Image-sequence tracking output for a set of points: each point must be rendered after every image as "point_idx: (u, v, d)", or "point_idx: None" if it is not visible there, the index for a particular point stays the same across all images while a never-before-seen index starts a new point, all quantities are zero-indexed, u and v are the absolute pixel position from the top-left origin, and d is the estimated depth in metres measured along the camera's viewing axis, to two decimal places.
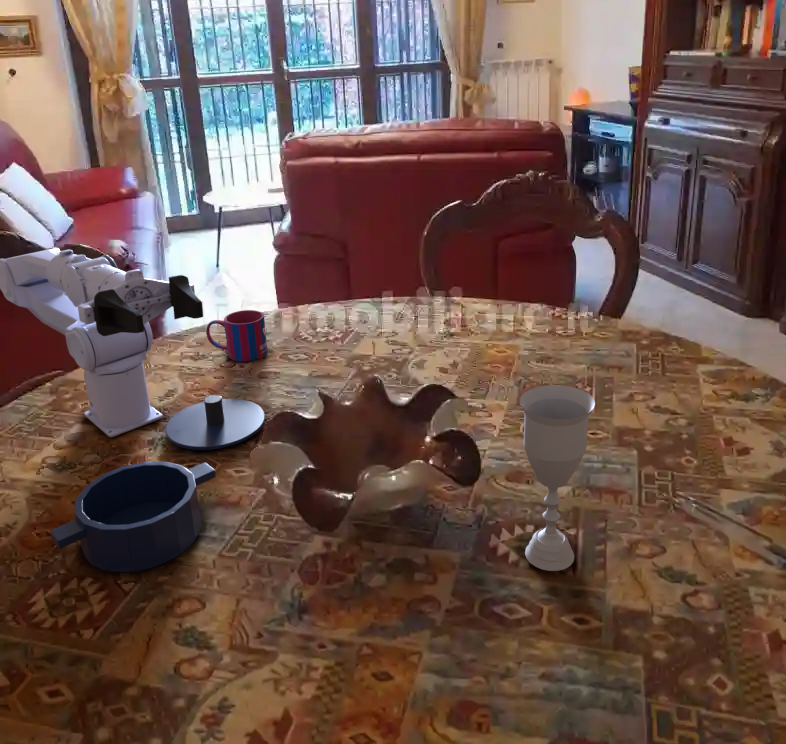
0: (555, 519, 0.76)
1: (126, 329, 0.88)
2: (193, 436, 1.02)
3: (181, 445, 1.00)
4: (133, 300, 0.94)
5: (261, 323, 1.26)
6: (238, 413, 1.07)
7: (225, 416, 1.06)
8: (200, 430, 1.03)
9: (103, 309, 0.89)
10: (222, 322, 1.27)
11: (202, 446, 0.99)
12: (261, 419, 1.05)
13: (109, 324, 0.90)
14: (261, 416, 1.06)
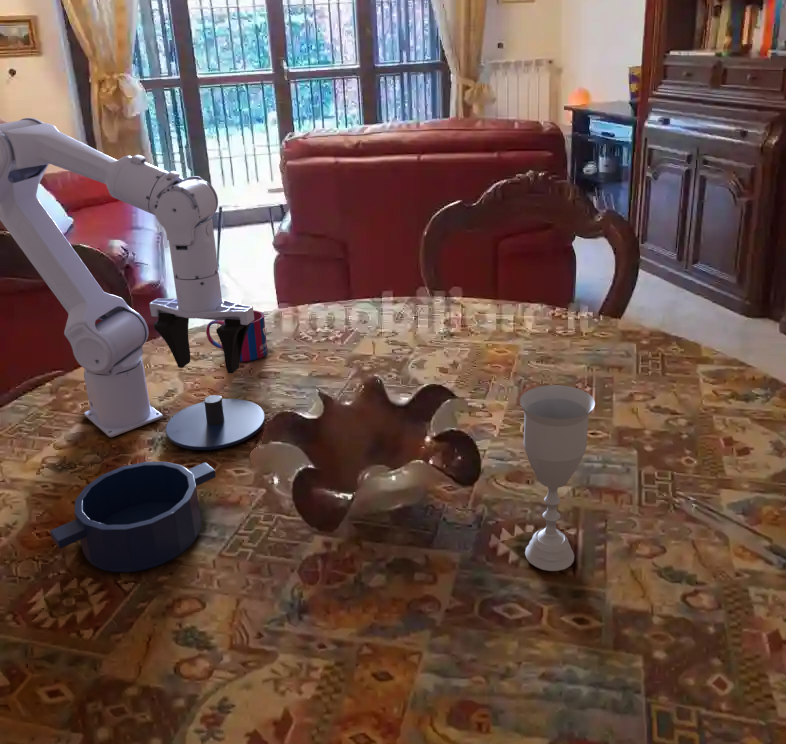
0: (555, 519, 0.76)
1: (231, 357, 0.99)
2: (193, 436, 1.02)
3: (181, 445, 1.00)
4: None
5: (261, 323, 1.26)
6: (238, 413, 1.07)
7: (225, 416, 1.06)
8: (200, 430, 1.03)
9: None
10: (222, 322, 1.27)
11: (202, 446, 0.99)
12: (261, 419, 1.05)
13: None
14: (261, 416, 1.06)
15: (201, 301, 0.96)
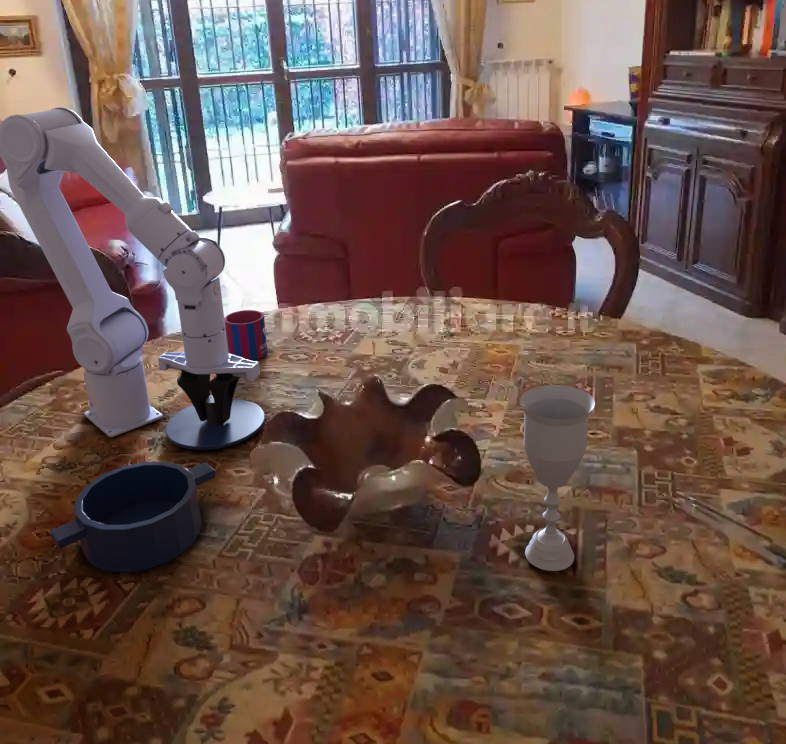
0: (555, 519, 0.76)
1: (222, 408, 1.03)
2: (193, 436, 1.02)
3: (181, 445, 1.00)
4: None
5: (261, 323, 1.26)
6: (237, 413, 1.07)
7: None
8: (200, 430, 1.03)
9: None
10: None
11: (202, 446, 0.99)
12: (261, 419, 1.05)
13: None
14: (261, 416, 1.06)
15: (208, 358, 0.99)
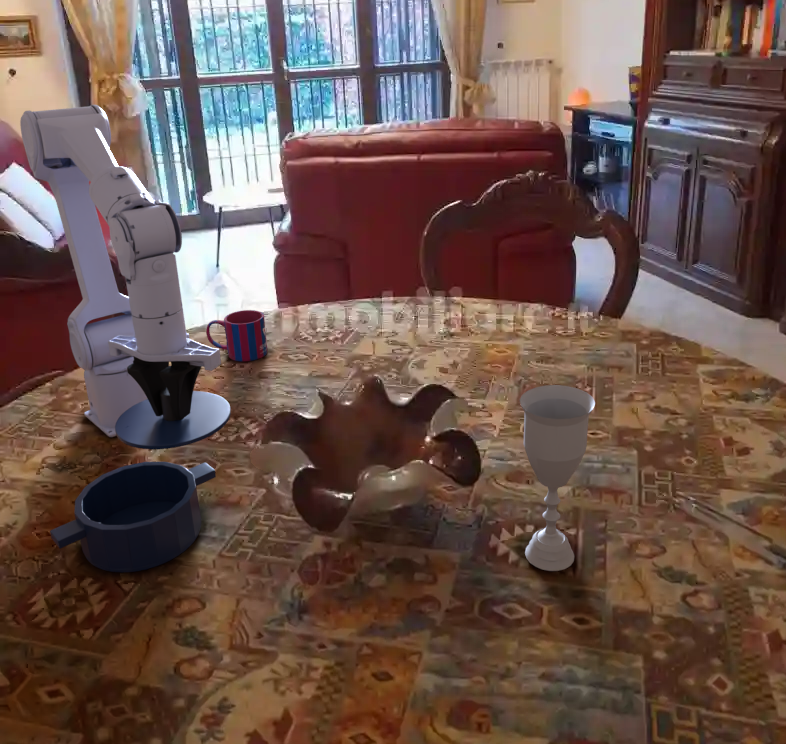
0: (555, 519, 0.76)
1: (179, 402, 0.89)
2: (144, 433, 0.88)
3: (128, 442, 0.86)
4: None
5: (261, 323, 1.26)
6: (200, 408, 0.93)
7: None
8: (153, 426, 0.89)
9: None
10: (222, 322, 1.27)
11: (151, 445, 0.85)
12: (225, 416, 0.91)
13: None
14: (226, 412, 0.92)
15: (160, 343, 0.85)
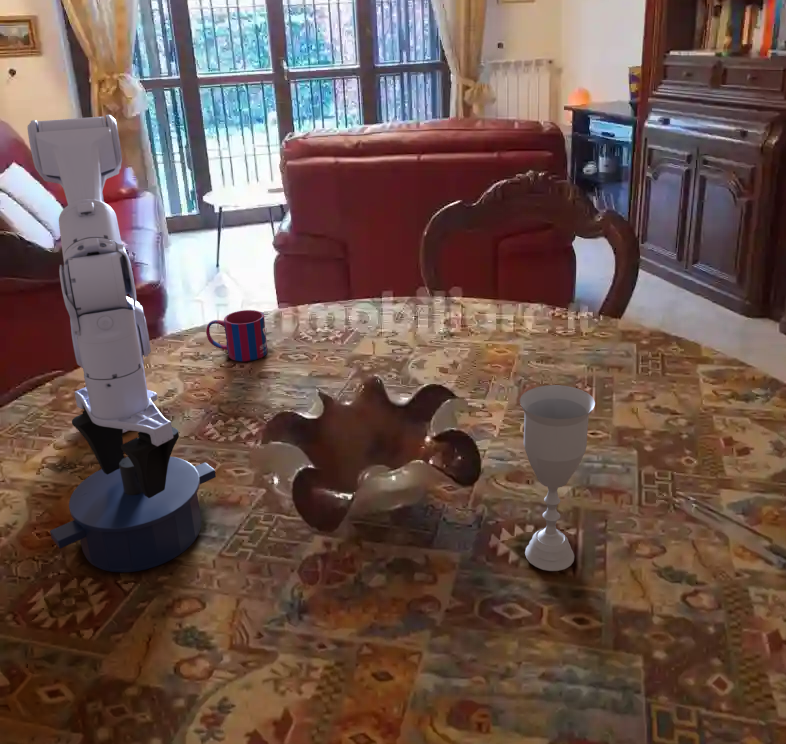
0: (555, 519, 0.76)
1: (146, 479, 0.77)
2: (94, 506, 0.79)
3: (72, 516, 0.78)
4: None
5: (261, 323, 1.26)
6: (168, 482, 0.83)
7: None
8: (108, 499, 0.80)
9: None
10: (222, 322, 1.27)
11: (91, 525, 0.76)
12: (185, 499, 0.80)
13: None
14: (189, 493, 0.81)
15: (108, 407, 0.75)
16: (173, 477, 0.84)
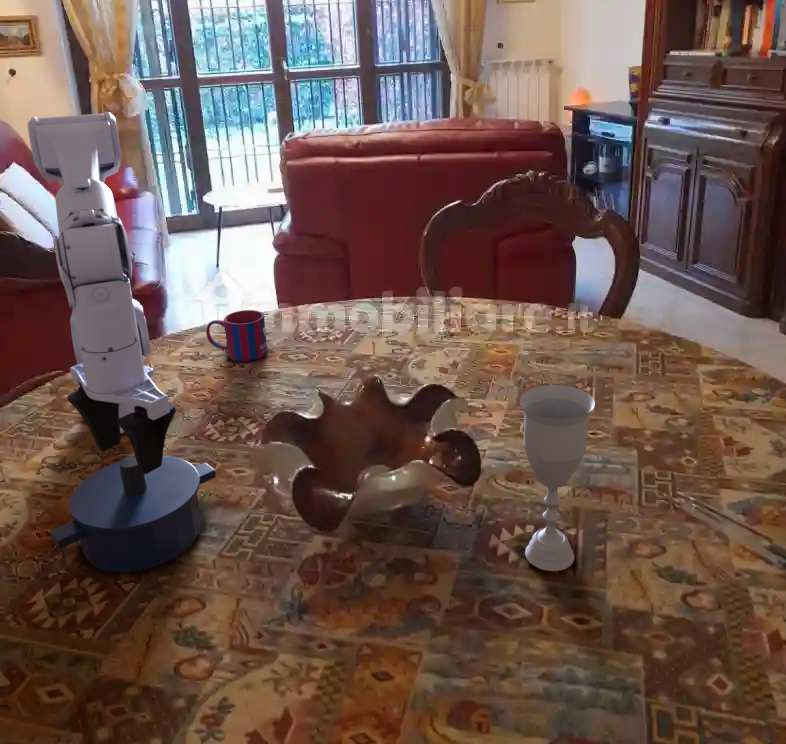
0: (555, 519, 0.76)
1: (142, 454, 0.76)
2: (94, 506, 0.79)
3: (72, 516, 0.78)
4: None
5: (261, 323, 1.26)
6: (168, 482, 0.83)
7: (151, 484, 0.83)
8: (108, 499, 0.80)
9: None
10: (222, 322, 1.27)
11: (91, 525, 0.76)
12: (185, 499, 0.80)
13: None
14: (189, 493, 0.81)
15: (103, 381, 0.74)
16: (173, 477, 0.84)
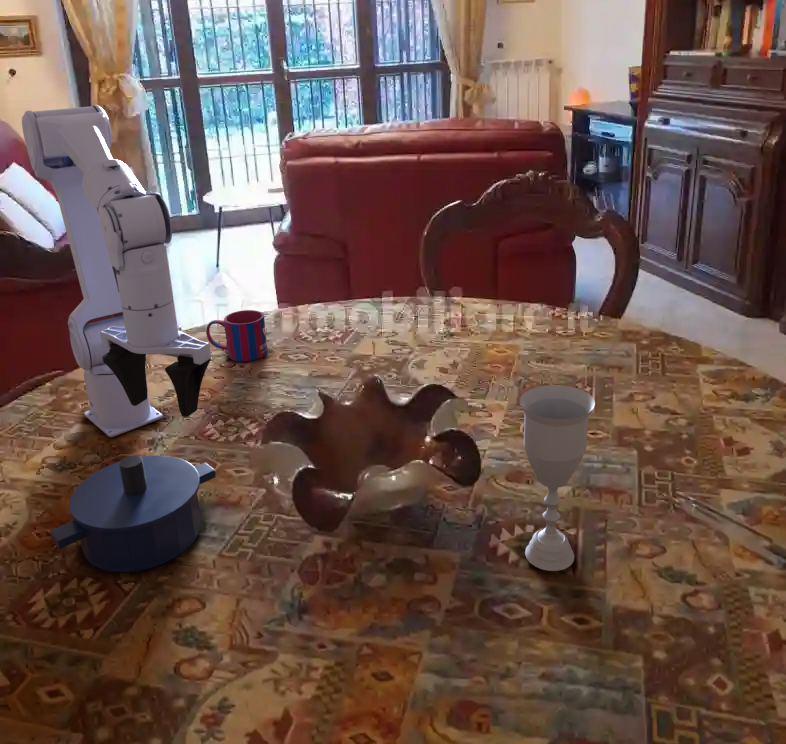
0: (555, 519, 0.76)
1: (185, 399, 0.86)
2: (94, 506, 0.79)
3: (72, 516, 0.78)
4: None
5: (261, 323, 1.26)
6: (168, 482, 0.83)
7: (151, 484, 0.83)
8: (108, 499, 0.80)
9: None
10: (222, 322, 1.27)
11: (91, 525, 0.76)
12: (185, 499, 0.80)
13: None
14: (189, 493, 0.81)
15: (149, 335, 0.84)
16: (173, 477, 0.84)
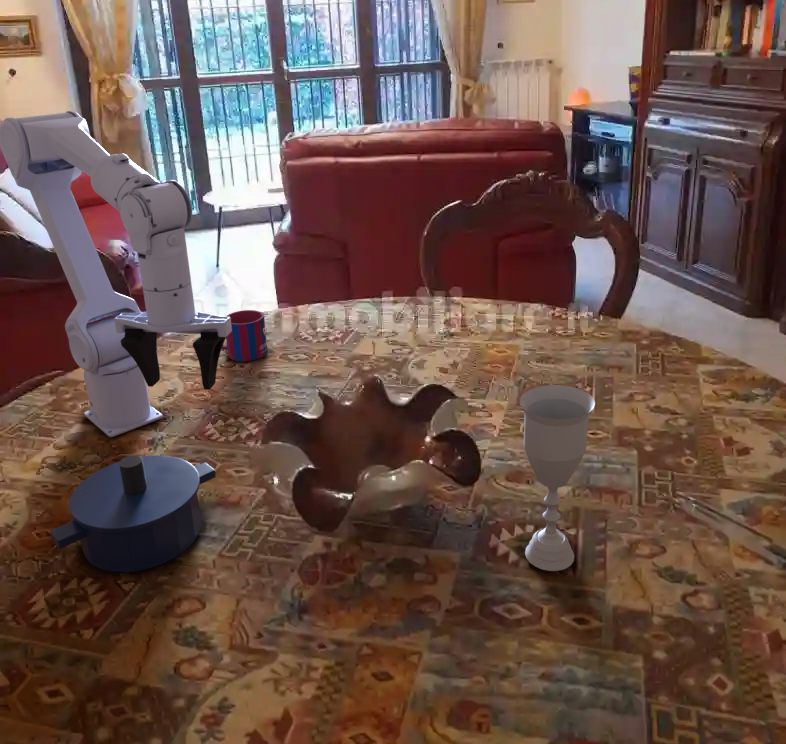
0: (555, 519, 0.76)
1: (208, 372, 0.93)
2: (94, 506, 0.79)
3: (72, 516, 0.78)
4: None
5: (261, 323, 1.26)
6: (168, 482, 0.83)
7: (151, 484, 0.83)
8: (108, 499, 0.80)
9: None
10: None
11: (91, 525, 0.76)
12: (185, 499, 0.80)
13: None
14: (189, 493, 0.81)
15: (175, 314, 0.89)
16: (173, 477, 0.84)
